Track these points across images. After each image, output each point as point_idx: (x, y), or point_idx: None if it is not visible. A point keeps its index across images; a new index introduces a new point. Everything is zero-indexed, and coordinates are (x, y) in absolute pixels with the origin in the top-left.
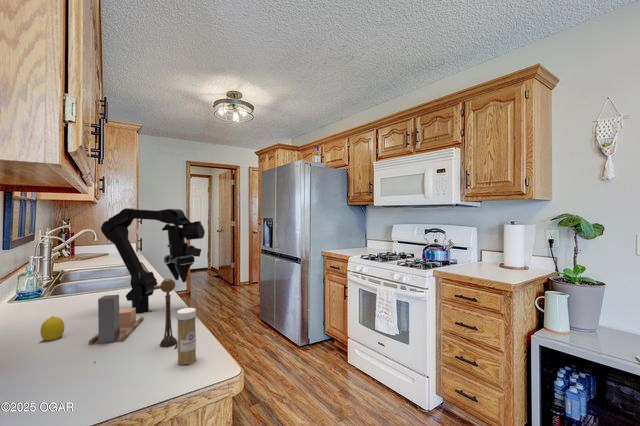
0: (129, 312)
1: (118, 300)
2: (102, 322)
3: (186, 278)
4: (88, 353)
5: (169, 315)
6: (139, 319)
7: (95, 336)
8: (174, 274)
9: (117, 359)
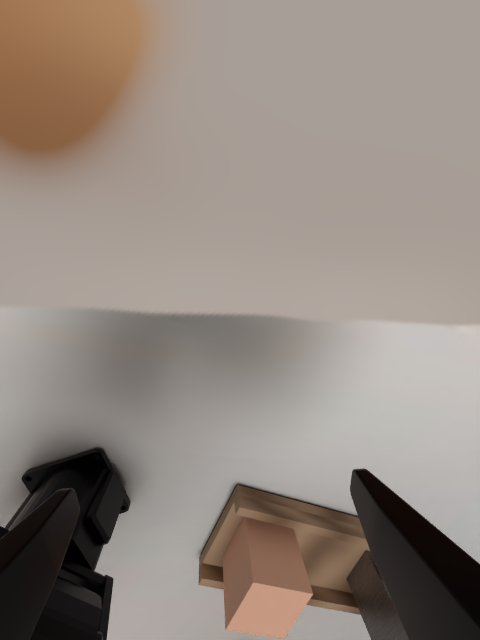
0: (310, 596)
1: None
2: None
3: (400, 499)
4: None
5: None
6: (269, 519)
7: (348, 608)
8: (28, 614)
9: (475, 535)
